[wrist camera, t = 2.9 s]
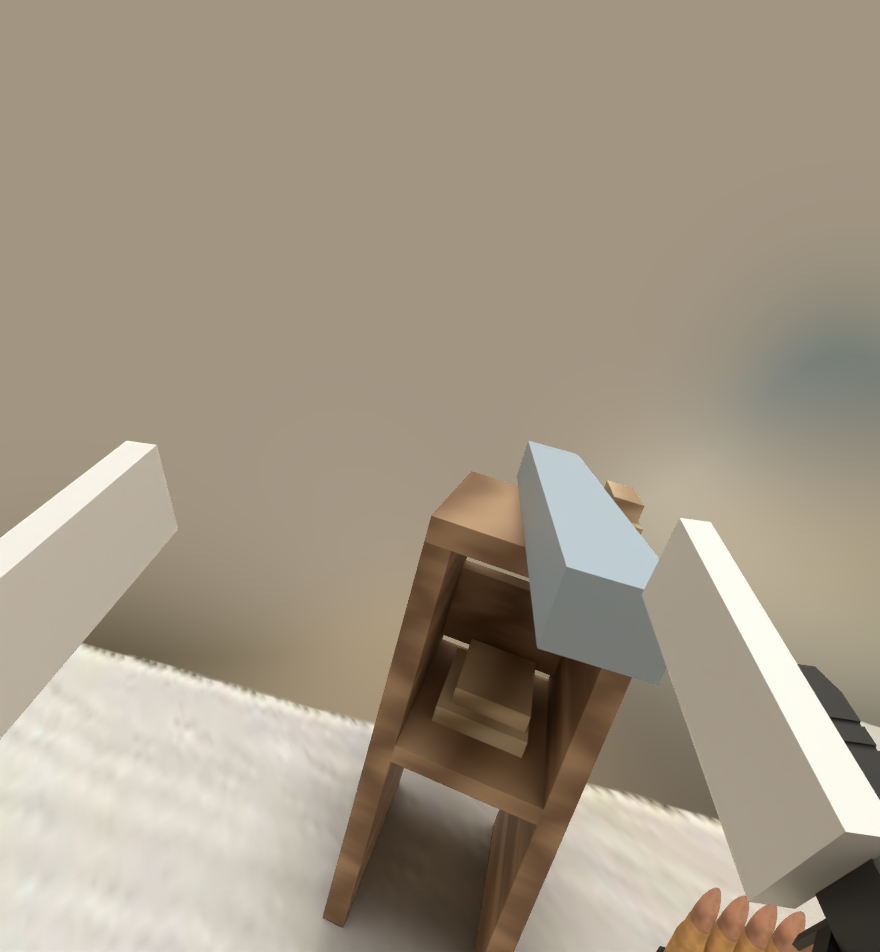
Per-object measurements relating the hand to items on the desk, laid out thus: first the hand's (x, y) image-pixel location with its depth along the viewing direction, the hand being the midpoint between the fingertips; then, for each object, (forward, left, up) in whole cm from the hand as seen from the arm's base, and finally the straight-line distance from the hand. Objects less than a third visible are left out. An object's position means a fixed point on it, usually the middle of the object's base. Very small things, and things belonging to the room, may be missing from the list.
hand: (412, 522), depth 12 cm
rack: (+13, +13, -34) cm, 39 cm away
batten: (+12, +11, -4) cm, 16 cm away
